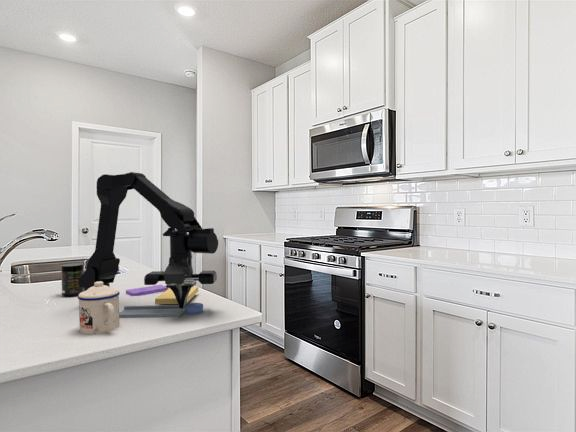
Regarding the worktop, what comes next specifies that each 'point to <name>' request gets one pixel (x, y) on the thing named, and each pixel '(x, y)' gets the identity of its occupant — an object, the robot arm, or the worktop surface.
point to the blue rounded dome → (193, 308)
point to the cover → (170, 298)
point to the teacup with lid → (99, 309)
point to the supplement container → (71, 279)
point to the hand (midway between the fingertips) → (181, 308)
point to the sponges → (146, 290)
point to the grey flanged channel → (151, 311)
